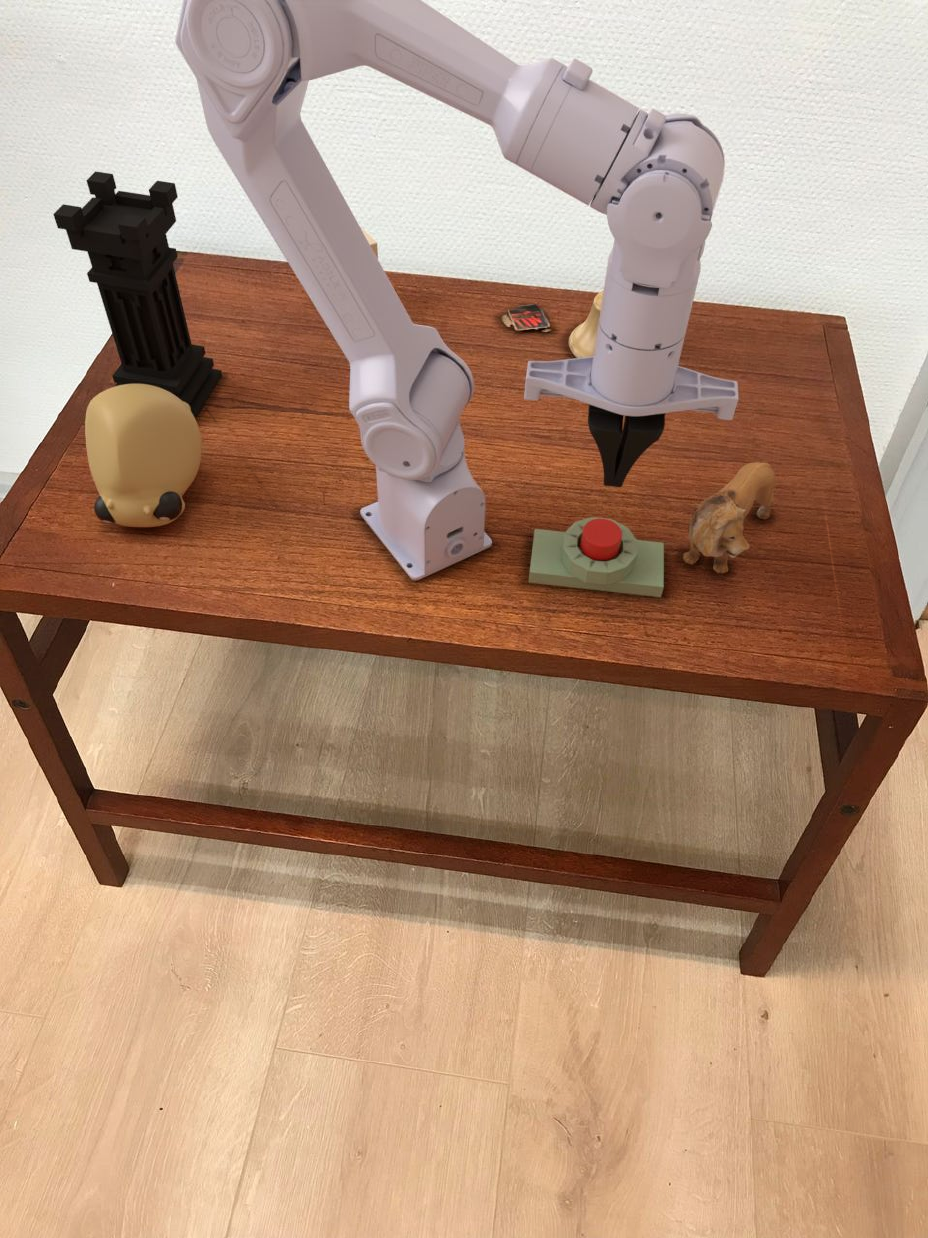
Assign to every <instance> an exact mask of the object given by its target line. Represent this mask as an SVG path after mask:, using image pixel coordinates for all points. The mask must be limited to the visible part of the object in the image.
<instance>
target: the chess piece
mask: <svg viewBox="0 0 928 1238" xmlns="http://www.w3.org/2000/svg"><path fill="white" fill-rule="evenodd" d="M86 185H87V187H88V191H89V194H90V195H92V196H94V197H91V198H90V199H89V200H88V201H87V202H86V204H84V205H83V207H82V206H77V205H72V204H71V205H70V204H65V203H63V204H62V205H60V207H59V208H58V209H57V210H56V211H55V212H53V214H52V215H53V218H54V221H55V224H56V226H57V229H59V230H65V232H66V235H67V238H68V241H69V244H70V248H71V250H75V251H81V252H86V253H87V255H88V259H89V262H90V266H91V268H90V269H89V270H88V271H87V272H86V275H87V279H88V281H89V283H95V284H96V285H97V288H98V292H99V295H100V297H101V302H102V305H103V308H104V312H105V314H106V317H107V320H108V324H109V328H110V331H111V333H112V338H113V340H114V343H115V347H116V350H117V353H118V354H117V355H118V357H119V361H120V365H118V367H117V369H116V370H115V371H114V373H113V374H112V376H111V377H112V378H113V383H114V384H115V385H114V386H113V387H115V386H119V385H125V384H147V385H152V386H156V387H159V388H162V389H164V390H166V391H168V392H170V393H172V394H174V395H175V396H177V397H178V398H179V399H180V400H182V401H183V402H186V403H187V404H188V405H189V406H190V408H191V412H192V414H193V416H194V418H195V420H197V417H198V416H199V414H200V413H201V411H202V409H203V408H204V406H205V404H206V402H207V401H208V399H209V398H210V396H211V394H212V393H213V391H214V390H215V388H216V386H218V384H219V382H220V380H221V379H222V377H223V373H222V369H216V368H214V366H215V362H214V359H213V358H212V357H206V356H205V355H206V348H205V346H204V345H198V344H192V339H191V335H190V331H189V327H188V322H187V319H186V314H185V310H184V305H183V301H182V297H181V294H180V293H181V292H180V288H179V284H178V279H177V276H176V271H175V268H174V262H176V260H177V258H178V257H179V255H178V251H177V249H176V248H174V247H170V246H169V242H168V238H167V237H168V236H167V233H168V232H169V231H170V229H171V228H172V227H173V226H174V225H175V223H176V222H177V218H176V214H175V209H174V203H175V201H176V200H177V199H178V197H179V196H178V192H177V191H178V190H177V186H176V183H175V182H170V181H164V180H163V181H162V180H156V181H155V182H154V183H153V184H152V186H150V188H149V189H148V192H149V194H144V193H136V192H130V191H123V190H118V191H117V192H116V189H117V185H116V181H115V176H114V173H109V172H103V171H97V170H96V171H94V172H93V173H92V174H91V175H90V176H89V177H88V178H87V179H86Z"/></svg>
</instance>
